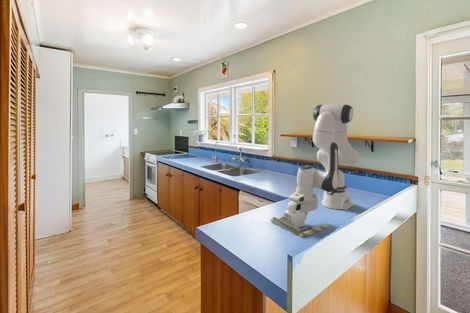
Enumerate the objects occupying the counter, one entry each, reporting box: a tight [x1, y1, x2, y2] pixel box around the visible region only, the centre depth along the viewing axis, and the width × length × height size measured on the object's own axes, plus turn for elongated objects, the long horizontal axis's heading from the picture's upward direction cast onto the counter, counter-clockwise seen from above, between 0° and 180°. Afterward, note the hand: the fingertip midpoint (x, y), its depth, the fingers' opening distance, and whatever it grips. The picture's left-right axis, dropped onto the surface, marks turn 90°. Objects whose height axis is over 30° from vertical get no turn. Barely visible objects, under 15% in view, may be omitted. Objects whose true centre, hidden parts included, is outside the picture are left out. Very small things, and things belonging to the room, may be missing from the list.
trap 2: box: [301, 226, 314, 233], centre depth 125 cm, size 10×3×1 cm, turn 124°
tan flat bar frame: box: [270, 215, 328, 238], centre depth 132 cm, size 20×22×3 cm
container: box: [283, 202, 306, 229], centre depth 130 cm, size 8×8×13 cm
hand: (302, 219), depth 133 cm, fingers closed
